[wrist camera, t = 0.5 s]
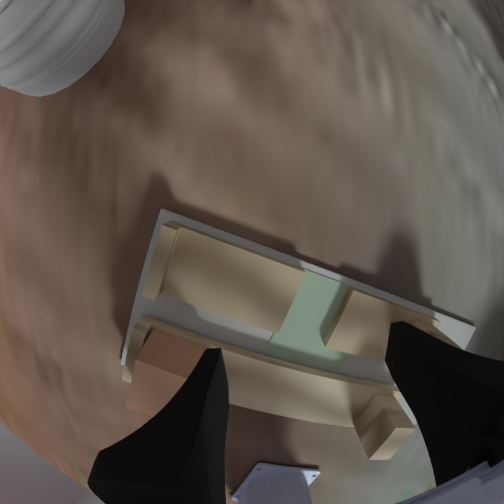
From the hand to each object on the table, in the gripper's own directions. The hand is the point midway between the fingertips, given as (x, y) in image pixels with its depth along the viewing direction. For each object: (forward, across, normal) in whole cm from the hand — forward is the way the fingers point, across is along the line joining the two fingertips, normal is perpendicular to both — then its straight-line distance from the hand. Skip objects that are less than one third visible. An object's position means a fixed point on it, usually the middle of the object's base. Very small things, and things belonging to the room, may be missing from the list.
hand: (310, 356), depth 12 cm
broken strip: (+11, -2, +4) cm, 11 cm away
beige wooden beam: (+10, +1, +10) cm, 14 cm away
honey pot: (+14, +17, -23) cm, 31 cm away
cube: (+8, +9, +6) cm, 14 cm away
